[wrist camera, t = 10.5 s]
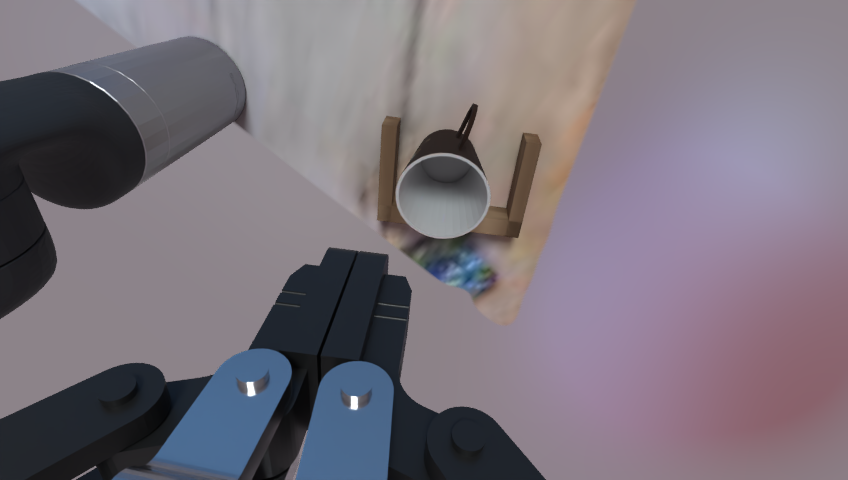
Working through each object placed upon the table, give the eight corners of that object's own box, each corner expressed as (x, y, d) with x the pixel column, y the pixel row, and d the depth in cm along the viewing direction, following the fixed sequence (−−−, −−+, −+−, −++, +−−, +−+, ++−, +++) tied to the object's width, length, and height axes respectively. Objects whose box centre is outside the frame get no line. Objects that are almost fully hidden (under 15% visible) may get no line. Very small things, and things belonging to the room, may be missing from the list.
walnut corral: (381, 207, 52) (377, 220, 50) (386, 116, 47) (381, 124, 44) (515, 224, 52) (518, 237, 50) (537, 134, 46) (541, 144, 44)
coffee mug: (445, 207, 52) (441, 254, 43) (391, 156, 49) (376, 196, 40) (524, 140, 47) (537, 178, 38) (469, 80, 44) (470, 106, 36)
